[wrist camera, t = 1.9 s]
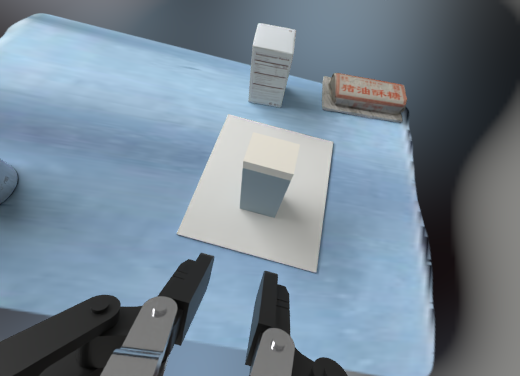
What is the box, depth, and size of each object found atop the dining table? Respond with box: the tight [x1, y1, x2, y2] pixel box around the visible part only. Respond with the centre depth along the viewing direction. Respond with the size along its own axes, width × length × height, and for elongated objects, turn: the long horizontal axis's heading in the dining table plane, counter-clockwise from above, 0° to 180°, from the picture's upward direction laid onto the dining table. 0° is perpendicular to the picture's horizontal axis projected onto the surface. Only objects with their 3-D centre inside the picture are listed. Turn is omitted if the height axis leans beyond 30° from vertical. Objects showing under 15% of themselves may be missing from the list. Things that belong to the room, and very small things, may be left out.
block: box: [240, 132, 300, 218], centre depth 35 cm, size 6×4×14 cm
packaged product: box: [322, 73, 407, 123], centre depth 55 cm, size 18×5×10 cm
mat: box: [177, 114, 333, 273], centre depth 44 cm, size 22×26×1 cm
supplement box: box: [249, 23, 296, 108], centre depth 49 cm, size 7×7×13 cm
